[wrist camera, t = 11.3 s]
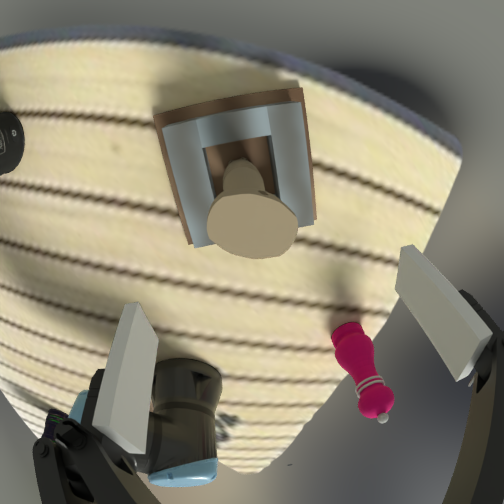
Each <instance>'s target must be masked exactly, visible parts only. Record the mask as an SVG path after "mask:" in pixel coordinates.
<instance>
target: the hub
mask: <svg viewBox="0 0 504 504" xmlns="http://www.w3.org/2000/svg"><path fill="white" fill-rule="evenodd" d="M153 118H154V122H155V126H156V130H157V134H158V138H159V142H160V146H161V150H162V154H163V158H164V162H165V165H166V169H167V173H168V176H169V180H170V184H171V187H172V191H173V194H174V198H175V201H176V205H177V208H178V212H179V215H180V218H181V222H182V225H183V228H184V231H185V235H186V238H187V241H188V244H189V245H190V244H194V248H198V247H203V246H208V245H213V244H215V243H214V242H213V241H212V240H210V239H209V236H208V233H207V217H208V212H209V209H210V207H211V204H212V203H213V201H214V199H215V198H216V197H217V196H218V195H219V194H221V193H222V192H223V191H224V190H223V176H224V172H225V170H226V168H227V166H228V163H229V161H230V160H237V159H240V158H241V157H244V158H246V159H248V161H249V162H251V163H252V164H253V165H254V166H255V167H256V168H257V170H258V171H259V173H260V174H261V177H262V179H263V183H264V187H265V191H266V192H268V193H271V194H273V195H275V196H276V197H278V198H279V199H280V200H281V201H282V202H284V203H285V204H286V205H287V206H288V207H289V208H290V209H291V210H292V211H293V212H294V214H295V215H296V217H297V221H298V228H299V227H304V226H309V225H314V220H316V219H317V216H316V202H315V190H314V179H313V168H312V158H311V149H310V140H309V132H308V124H307V116H306V108H305V101H304V94H303V88H291V89H282V90H273V91H266V92H259V93H252V94H246V95H240V96H234V97H229V98H223V99H218V100H214V101H209V102H204V103H200V104H195V105H191V106H187V107H183V108H179V109H175V110H172V111H168V112H164V113H161V114H157V115H154V116H153Z"/></svg>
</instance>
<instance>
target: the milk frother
mask: <svg viewBox="0 0 504 504" xmlns="http://www.w3.org/2000/svg"><path fill="white" fill-rule="evenodd" d="M24 141H25V139H24V132H23V129H22V126H21V123H20V122H19V120H18V119H17V117H16V116H14V115H13V114H12V113H9V112H2V113H0V175H2V174H6V173H9V172H11V171H13V170H14V169H15V168H16V167H17V166H18V164H19V162H20V161H21V158H22V155H23V152H24V144H25V143H24Z"/></svg>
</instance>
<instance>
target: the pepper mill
mask: <svg viewBox="0 0 504 504" xmlns="http://www.w3.org/2000/svg"><path fill="white" fill-rule="evenodd" d="M331 339H332V342H333V345H334V347H335V348H336V350H335V357H336V359H337V361H338V363H339V364H340V366H341V367H342V368H343V369H345V370H346V371H347V372H348V373H349V374H350V375H351V376H352V377H353V379H354V381H355V383H356V389H355V391H356V393H357V396H358V397H359V398H360V399H359V402H358V408H359V410H360V412H361V413H362V414H363V415H364V416H365V417H368V418H377V420H378V422H380V423H385V422H386V421H387V420H388V415H387V412H388V411H389V410H390V409H391V408H392V406H393V403H394V394H393V392H392V390H391V389H390V388H389V387H387V386H385V382H384V381H383V378H382V377H381V376H379V375H378V373H377V372H376V369H375V366H374V346H373V344H372V341H371V339H370V338H369V337H368V336H367V335H365V334H364V331H363V329H362V327H361V325H360V324H358V323H355V322H350V323H346V324H344V325H342V326H340V327H338V328H337V329H336V330H335V331H334V333H333V334H332V338H331Z"/></svg>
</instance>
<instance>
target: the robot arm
mask: <svg viewBox="0 0 504 504" xmlns="http://www.w3.org/2000/svg"><path fill="white" fill-rule="evenodd" d="M395 290H396V292H397V293H398V294H399V296H400V297H401V299H402V300H403V301H404V303H405V304H406V305H407V307H408V308H409V310H410V311H411V313H412V314H413V315H414V317H415V318H416V320H417V321H418V323H419V324H420V325H421V327H422V328H423V330H424V331H425V333H426V334H427V336H428V337H429V339H430V340H431V342H432V343H433V345H434V347H435V348H436V349H437V351H438V353H439V354H440V356H441V357H442V359H443V361H444V362H445V364H446V366H447V367H448V369H449V370H450V372H451V374H452V375H453V377H454V379H455V380H456V382H457V381H459V380H460V379H462V378H464V377H466V376H468V375H469V374H470V372H471V370H472V369H473V367H474V368H475V369H476V373H475V375H474V376H473V378H472V379H471V381H470V382H469V385H468V386H471V384H472V383H473V381H474V384H473V391H472V398H471V404H470V410H469V415H468V420H467V425H466V429H465V434H464V438H463V442H462V446H461V450H460V453H459V457H458V460H457V463H456V467H455V470H454V473H453V476H452V479H451V482H450V485H449V487H448V490H447V493H446V495H445V498H444V500H443V503H442V504H502V503H503V499H504V331H503V332H502V331H501V330H500V328H499V327H498V326H497V325H496V323H495V322H494V321H493V320H492V319H491V317H490V316H489V315H488V314H487V313H486V311H485V310H483V308H482V307H481V306H480V304H478V302H477V301H476V300H475V299H474V298H473V296H472V295H470V294H469V293H467V292H466V291H464V290H460V291H457V290H456V289H455V288H454V286H453V285H452V284H451V283H450V282H449V281H448V280H447V279H446V278H445V277H444V276H443V274H442V273H441V272H440V271H439V270H438V269H437V268H436V267H435V266H434V265H433V264H432V263H431V262H430V261H429V260H428V259H427V258H426V257H425V256H424V255H423V254H422V253H421V252H420V251H419V250H418V249H417V248H416V247H415V246H414V245H413V244H412V245H408V246H404V247H401V251H400V259H399V266H398V273H397V279H396V286H395ZM158 342H159V339H158V337H157V335H156V334H155V332H154V330H153V328H152V326H151V325H150V323H149V321H148V319H147V317H146V315H145V313H144V312H143V310H142V308H141V306H140V304H139V302H134V303H128V304H125V306H124V309H123V312H122V315H121V318H120V321H119V324H118V327H117V330H116V333H115V337H114V340H113V343H112V347H111V350H110V353H109V357H108V361H107V364H106V368H105V369H98V370H97V371H96V373H95V374H94V376H93V377H92V379H91V383H90V386H89V390H83V391H81V392H80V393H79V395H78V396H77V398H76V400H75V402H74V405H73V407H72V409H71V411H70V414H69V416H68V418H64V419H62V420H61V421H60V422H59V423H58V424H57V425H56V427H55V429H54V439H55V441H57V442H53V441H51V440H50V439H49V438H46V437H41V438H39V439H38V440H37V441H36V442H35V444H34V446H33V459H34V466H35V472H36V478H37V482H38V487H39V492H40V497H41V501H42V504H161V503H160V502H159V501H158V500H157V499H156V497H155V496H154V495H153V494H152V493H151V491H150V490H149V489H148V488H147V486H146V485H145V484H144V483H143V481H142V480H141V479H140V478H139V476H138V475H137V474H136V472H142V473H146V474H148V479H149V482H150V483H152V484H155V485H158V486H167V487H189V486H197V485H203V484H207V483H210V482H211V481H213V480H214V479H215V478H216V476H217V461H218V458H217V448H216V432H215V411H216V408H217V405H218V402H219V399H220V396H221V393H222V378H221V375H220V374H219V372H218V371H217V370H215V369H214V368H213V367H211V366H209V365H207V364H205V363H202V362H199V361H196V360H190V359H169V360H165V361H161V362H159V363H157V364H155V362H156V355H157V349H158ZM151 399H152V403H153V407H154V410H153V412H150V411H149V409H150V400H151Z"/></svg>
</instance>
